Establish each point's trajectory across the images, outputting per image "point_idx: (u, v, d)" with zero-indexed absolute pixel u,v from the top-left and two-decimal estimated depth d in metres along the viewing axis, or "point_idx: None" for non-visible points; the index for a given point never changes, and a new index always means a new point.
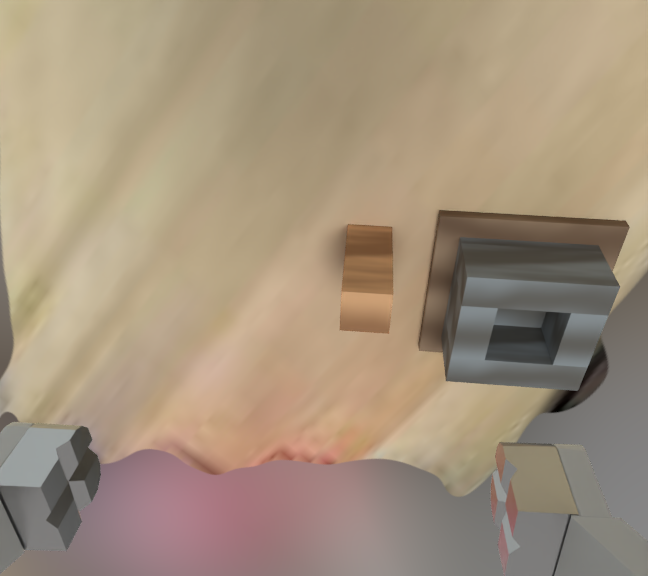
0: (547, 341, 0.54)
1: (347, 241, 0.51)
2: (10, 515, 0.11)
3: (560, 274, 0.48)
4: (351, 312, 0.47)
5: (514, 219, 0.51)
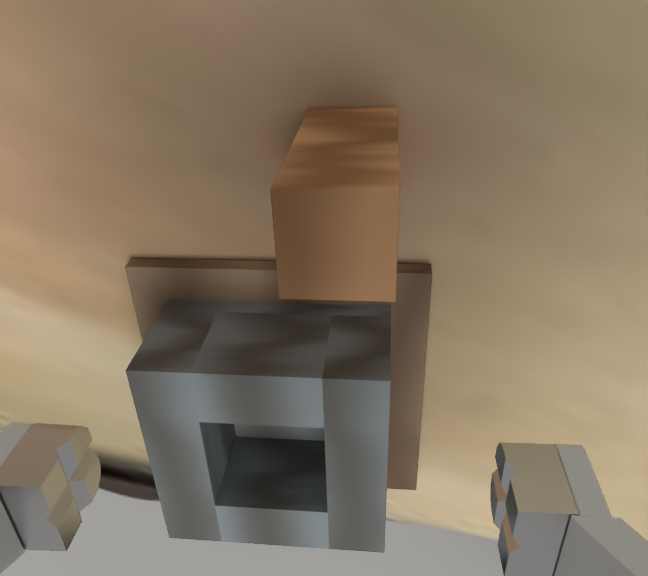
0: (234, 468, 0.33)
1: (397, 127, 0.24)
2: (10, 515, 0.11)
3: None
4: (334, 215, 0.19)
5: None
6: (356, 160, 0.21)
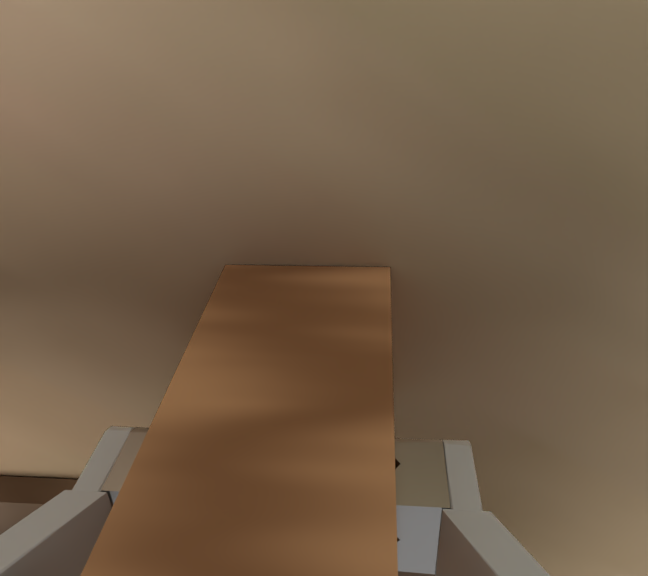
0: None
1: (391, 342, 0.12)
2: None
3: None
4: None
5: None
6: (288, 523, 0.08)
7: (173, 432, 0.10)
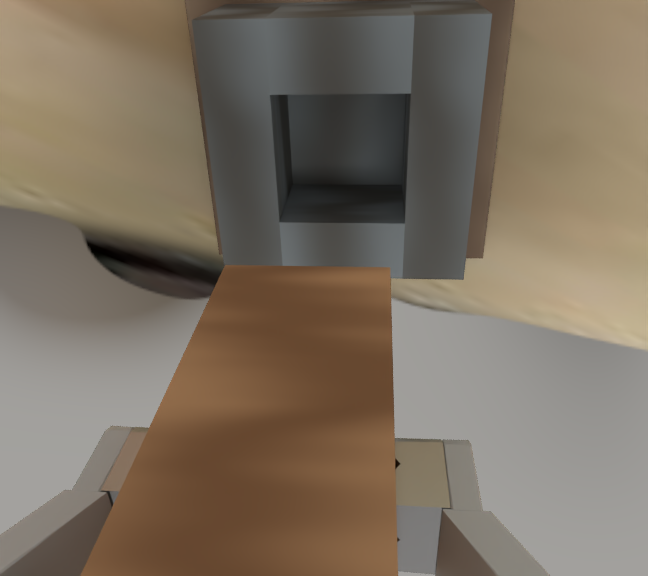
0: (295, 201, 0.31)
1: (391, 342, 0.12)
2: None
3: None
4: None
5: None
6: (287, 524, 0.08)
7: (173, 432, 0.10)
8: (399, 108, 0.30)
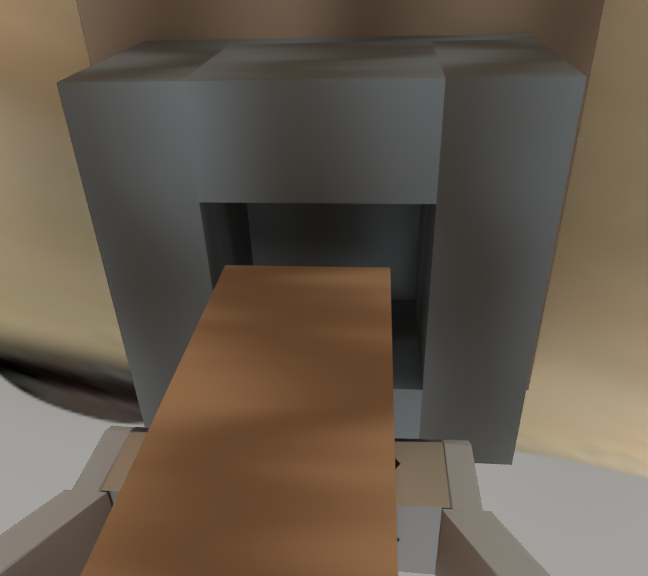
0: None
1: (391, 342, 0.12)
2: None
3: None
4: None
5: (568, 169, 0.20)
6: (287, 523, 0.08)
7: (173, 433, 0.10)
8: None
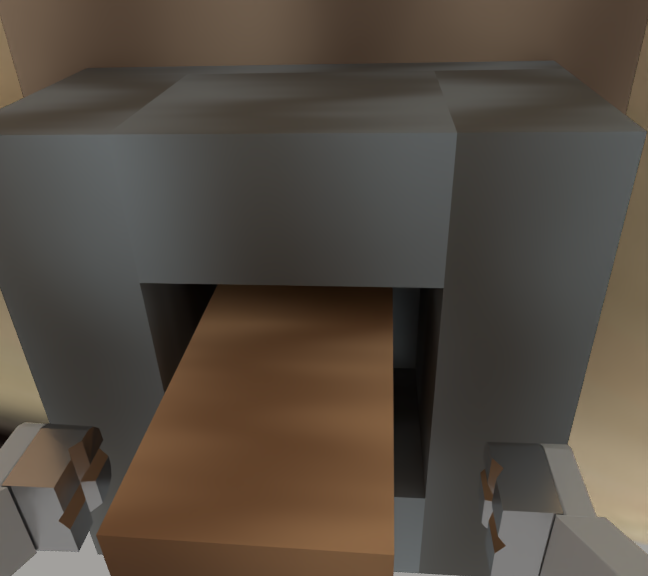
0: None
1: None
2: (23, 516, 0.11)
3: None
4: None
5: None
6: (307, 402, 0.10)
7: (211, 342, 0.12)
8: None
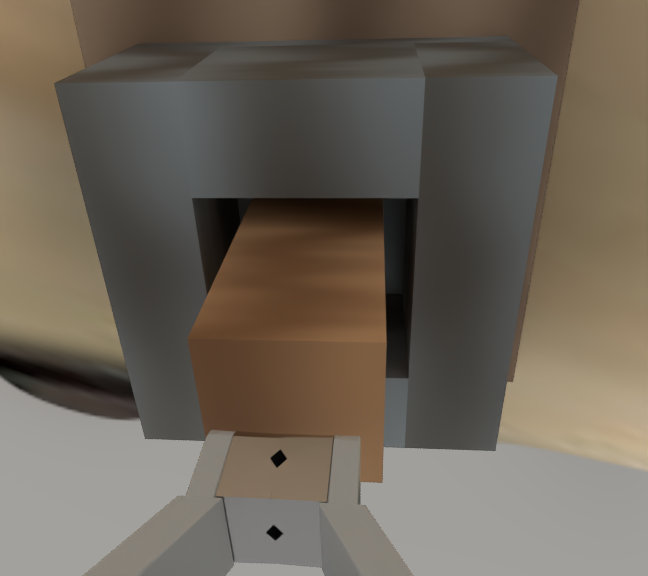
0: None
1: (382, 204, 0.18)
2: (230, 527, 0.10)
3: None
4: (288, 373, 0.12)
5: None
6: (323, 271, 0.14)
7: (248, 241, 0.16)
8: None
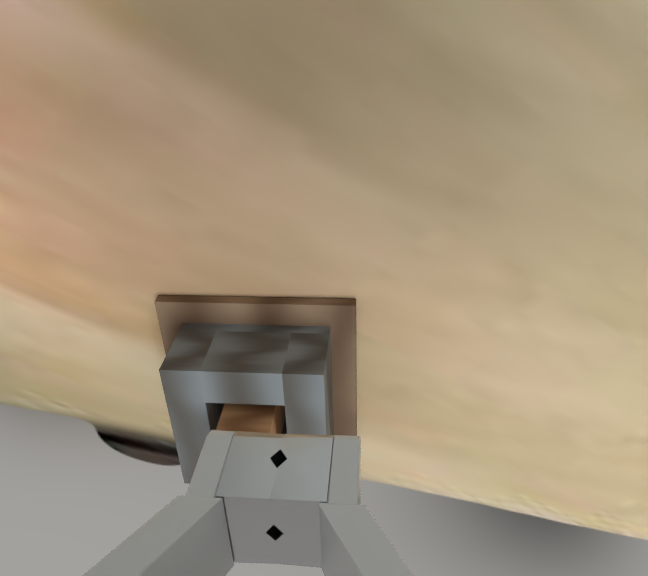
0: None
1: None
2: (230, 527, 0.10)
3: None
4: None
5: (355, 368, 0.49)
6: None
7: (225, 418, 0.44)
8: None
